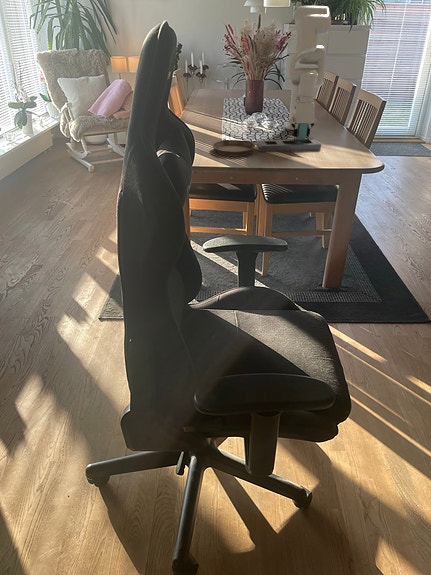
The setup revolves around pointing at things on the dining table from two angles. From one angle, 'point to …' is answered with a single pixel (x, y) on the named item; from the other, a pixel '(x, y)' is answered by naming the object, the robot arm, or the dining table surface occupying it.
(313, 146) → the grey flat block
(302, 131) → the square block
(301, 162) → the dining table surface
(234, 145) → the plant saucer
